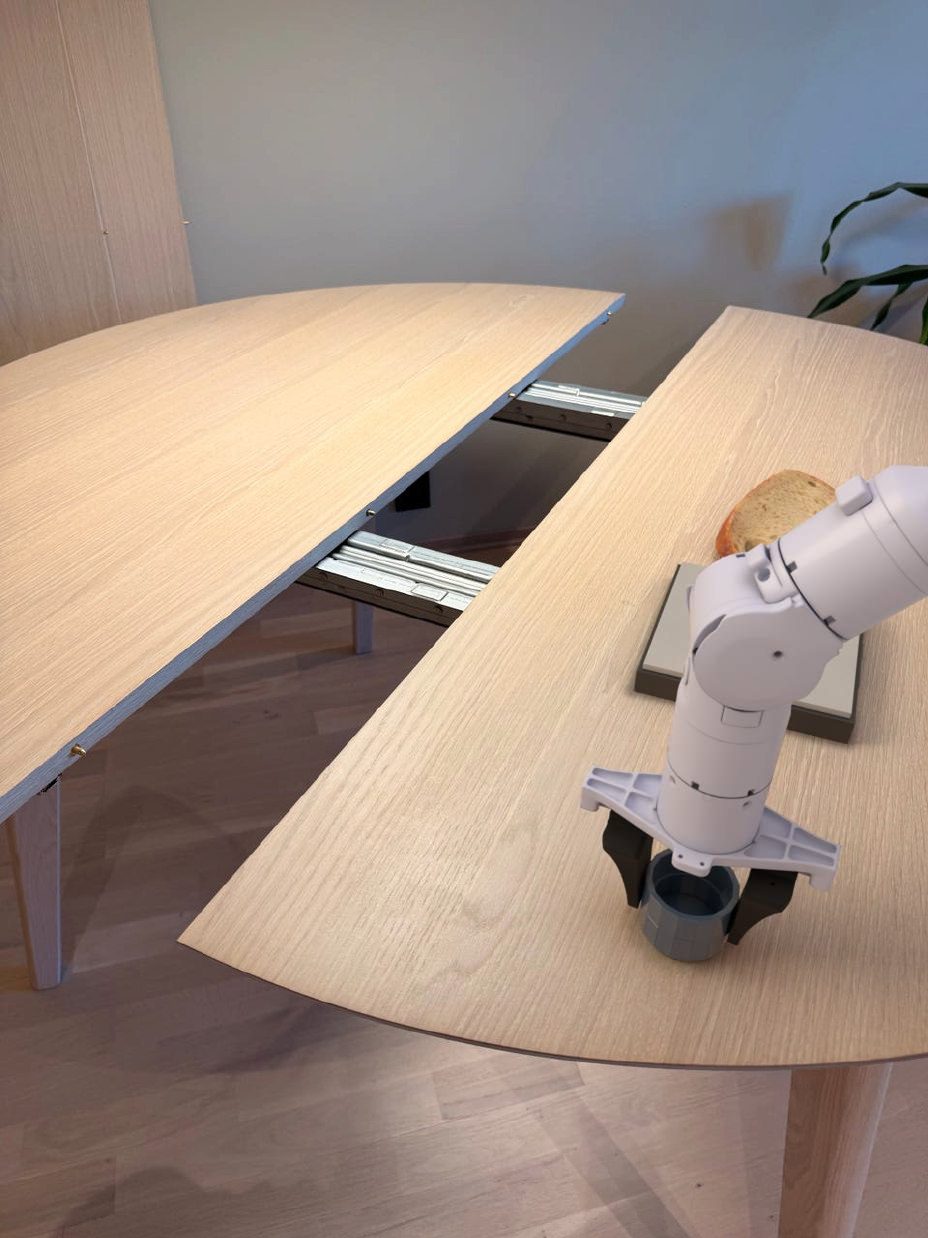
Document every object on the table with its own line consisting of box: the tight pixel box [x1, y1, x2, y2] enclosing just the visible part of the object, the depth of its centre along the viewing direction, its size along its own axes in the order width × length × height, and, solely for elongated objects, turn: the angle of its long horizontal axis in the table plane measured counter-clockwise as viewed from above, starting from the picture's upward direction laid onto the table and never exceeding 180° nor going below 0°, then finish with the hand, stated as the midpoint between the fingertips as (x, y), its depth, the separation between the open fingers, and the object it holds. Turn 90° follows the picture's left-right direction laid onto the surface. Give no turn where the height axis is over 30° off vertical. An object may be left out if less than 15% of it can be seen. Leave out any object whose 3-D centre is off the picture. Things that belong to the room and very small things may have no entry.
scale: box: [633, 561, 865, 745], centre depth 82 cm, size 17×17×3 cm
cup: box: [637, 847, 741, 963], centre depth 59 cm, size 6×6×4 cm
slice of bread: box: [715, 469, 837, 559], centre depth 98 cm, size 18×18×4 cm
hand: (684, 913), depth 60 cm, fingers closed on cup, 6 cm apart
